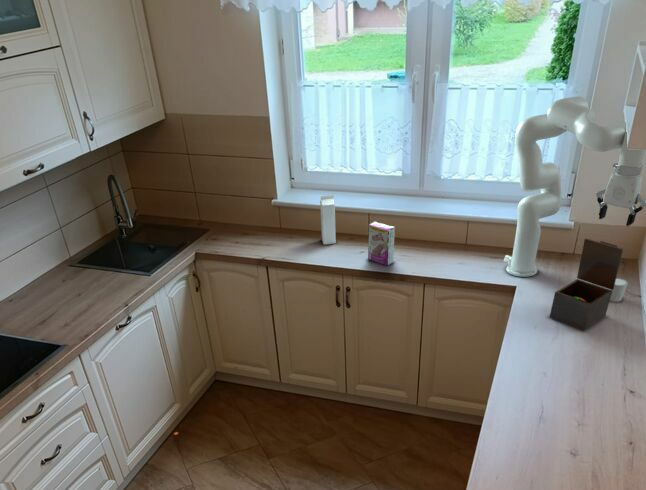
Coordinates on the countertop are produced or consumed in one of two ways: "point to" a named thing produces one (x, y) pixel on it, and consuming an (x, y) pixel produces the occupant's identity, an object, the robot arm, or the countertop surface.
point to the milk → (328, 219)
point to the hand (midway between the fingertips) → (615, 221)
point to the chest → (580, 304)
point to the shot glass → (618, 290)
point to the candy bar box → (381, 243)
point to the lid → (599, 263)
